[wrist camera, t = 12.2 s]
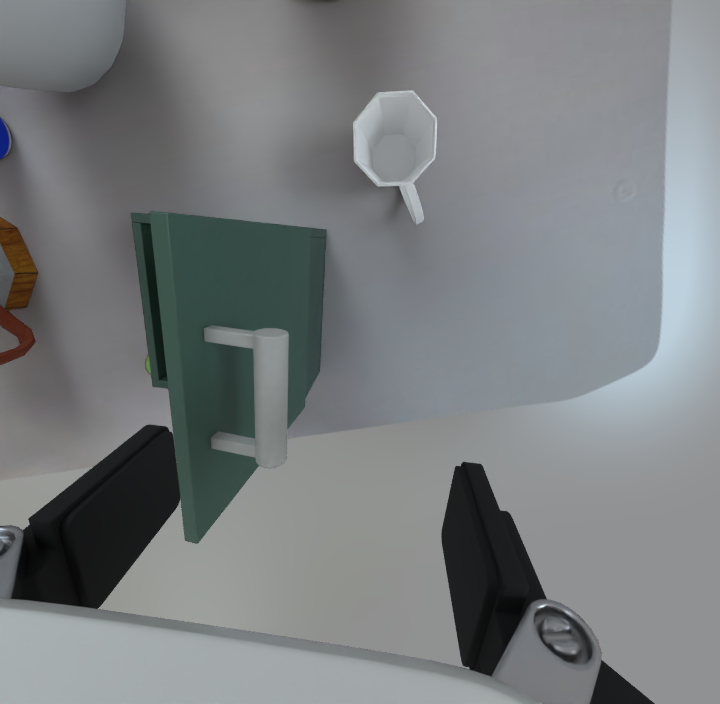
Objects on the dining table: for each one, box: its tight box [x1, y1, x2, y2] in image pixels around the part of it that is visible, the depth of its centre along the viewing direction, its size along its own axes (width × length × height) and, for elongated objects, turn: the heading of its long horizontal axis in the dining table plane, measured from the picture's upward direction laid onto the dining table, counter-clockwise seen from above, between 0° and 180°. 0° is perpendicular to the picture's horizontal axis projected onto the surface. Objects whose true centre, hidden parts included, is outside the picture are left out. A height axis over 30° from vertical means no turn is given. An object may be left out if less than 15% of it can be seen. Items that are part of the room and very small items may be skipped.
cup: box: [353, 90, 437, 225], centre depth 31 cm, size 7×10×8 cm
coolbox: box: [131, 213, 326, 398], centre depth 36 cm, size 16×17×9 cm
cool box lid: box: [149, 211, 311, 544], centre depth 23 cm, size 16×17×5 cm
